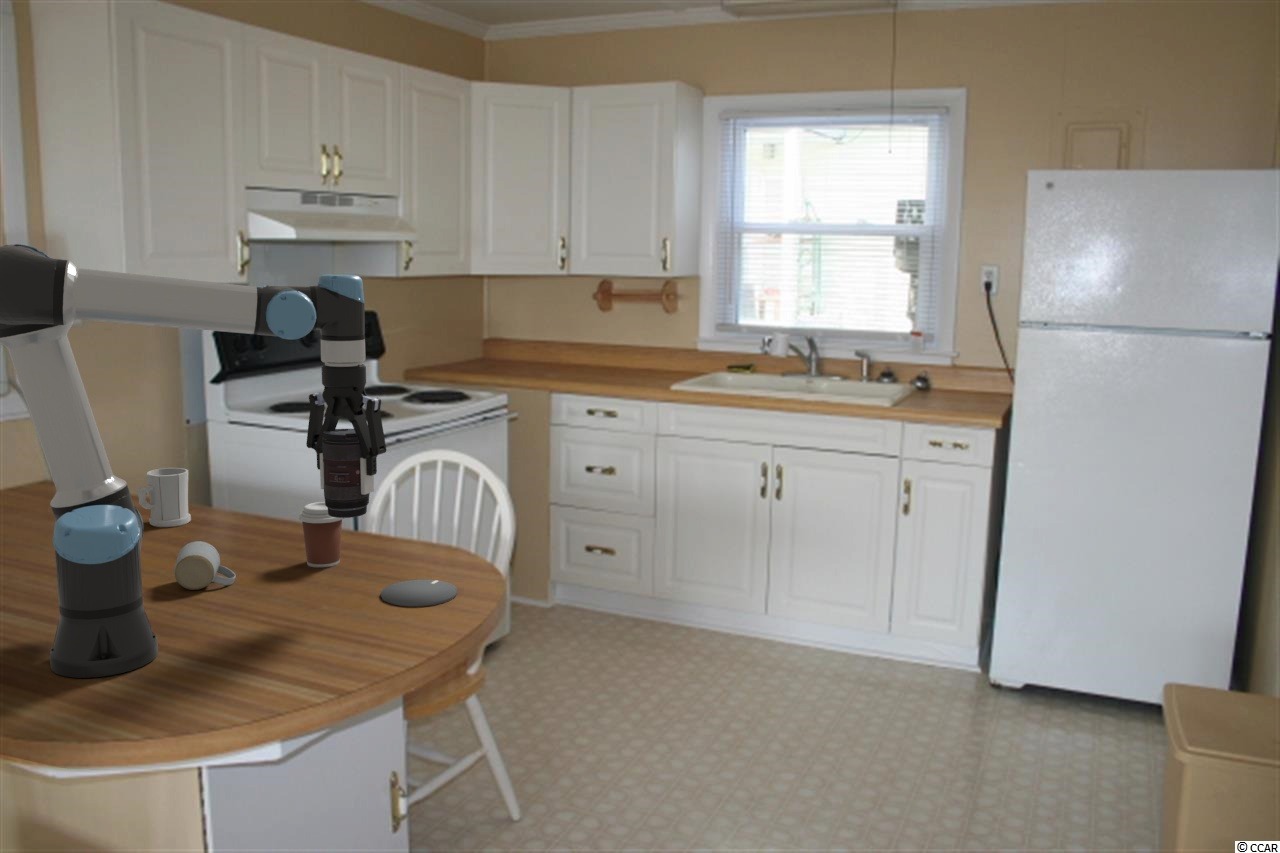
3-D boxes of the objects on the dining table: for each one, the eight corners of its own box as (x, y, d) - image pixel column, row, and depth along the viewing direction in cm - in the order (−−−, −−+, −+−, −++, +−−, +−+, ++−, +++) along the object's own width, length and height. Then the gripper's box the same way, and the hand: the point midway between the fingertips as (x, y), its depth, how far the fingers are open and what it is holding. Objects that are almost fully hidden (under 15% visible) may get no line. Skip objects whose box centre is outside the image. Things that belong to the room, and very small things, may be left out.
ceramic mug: (173, 593, 202) (172, 553, 200) (178, 579, 209) (177, 541, 208) (234, 590, 205) (233, 550, 203) (236, 577, 212) (236, 539, 211)
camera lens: (379, 514, 194) (377, 431, 192) (338, 521, 189) (335, 436, 186) (356, 505, 200) (354, 425, 198) (316, 512, 195) (313, 430, 192)
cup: (178, 530, 244) (175, 478, 242) (137, 529, 244) (134, 477, 242) (197, 518, 254) (195, 468, 252) (158, 517, 254) (156, 467, 252)
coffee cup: (312, 572, 216) (310, 513, 214) (292, 561, 222) (290, 504, 220) (354, 564, 222) (353, 506, 219) (334, 553, 228) (332, 498, 226)
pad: (433, 610, 195) (433, 607, 195) (366, 601, 199) (366, 597, 199) (470, 587, 208) (470, 584, 208) (406, 579, 213) (406, 575, 212)
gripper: (406, 365, 190) (408, 492, 193) (309, 357, 197) (313, 480, 201) (380, 369, 183) (383, 501, 187) (281, 362, 190) (286, 488, 194)
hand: (347, 490), depth 194 cm, fingers closed on camera lens, 8 cm apart
